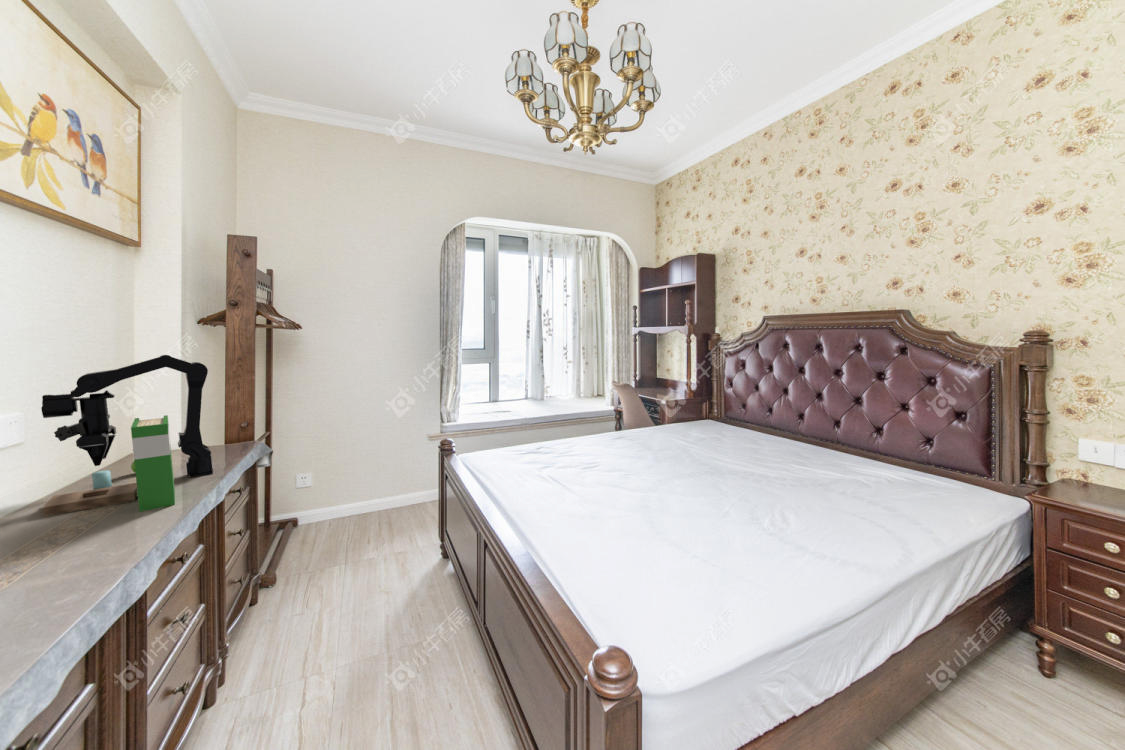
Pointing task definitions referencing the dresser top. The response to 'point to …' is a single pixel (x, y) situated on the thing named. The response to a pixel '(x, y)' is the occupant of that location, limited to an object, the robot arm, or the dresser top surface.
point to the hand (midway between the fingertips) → (100, 462)
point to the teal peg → (101, 479)
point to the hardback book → (153, 463)
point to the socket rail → (90, 499)
